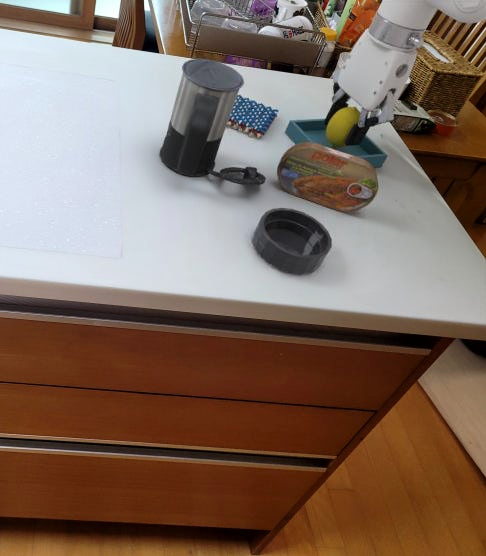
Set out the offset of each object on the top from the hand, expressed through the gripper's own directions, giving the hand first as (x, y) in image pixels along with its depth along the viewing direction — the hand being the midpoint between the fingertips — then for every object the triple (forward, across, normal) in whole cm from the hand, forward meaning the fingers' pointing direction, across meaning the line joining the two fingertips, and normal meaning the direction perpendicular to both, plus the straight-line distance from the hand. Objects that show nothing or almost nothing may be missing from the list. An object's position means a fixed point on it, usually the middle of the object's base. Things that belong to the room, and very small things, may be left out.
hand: (341, 133), depth 96 cm
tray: (+3, 0, 0) cm, 3 cm away
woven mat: (+4, +11, +13) cm, 18 cm away
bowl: (+3, -22, +24) cm, 33 cm away
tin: (+4, -12, +12) cm, 17 cm away
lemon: (+3, 0, 0) cm, 3 cm away
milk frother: (+4, -3, +27) cm, 27 cm away
